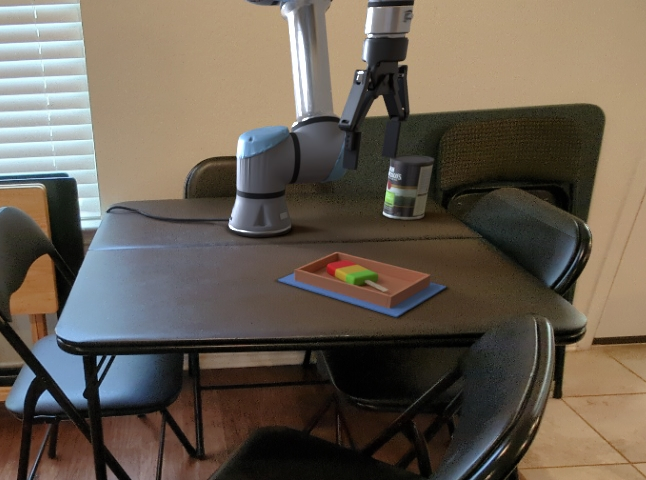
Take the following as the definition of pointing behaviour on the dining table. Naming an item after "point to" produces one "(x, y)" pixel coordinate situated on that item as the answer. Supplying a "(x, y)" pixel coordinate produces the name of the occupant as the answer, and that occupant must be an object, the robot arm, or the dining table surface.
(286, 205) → the robot arm
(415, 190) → the coffee can
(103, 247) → the dining table surface
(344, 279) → the popsicle
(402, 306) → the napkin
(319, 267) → the tray
